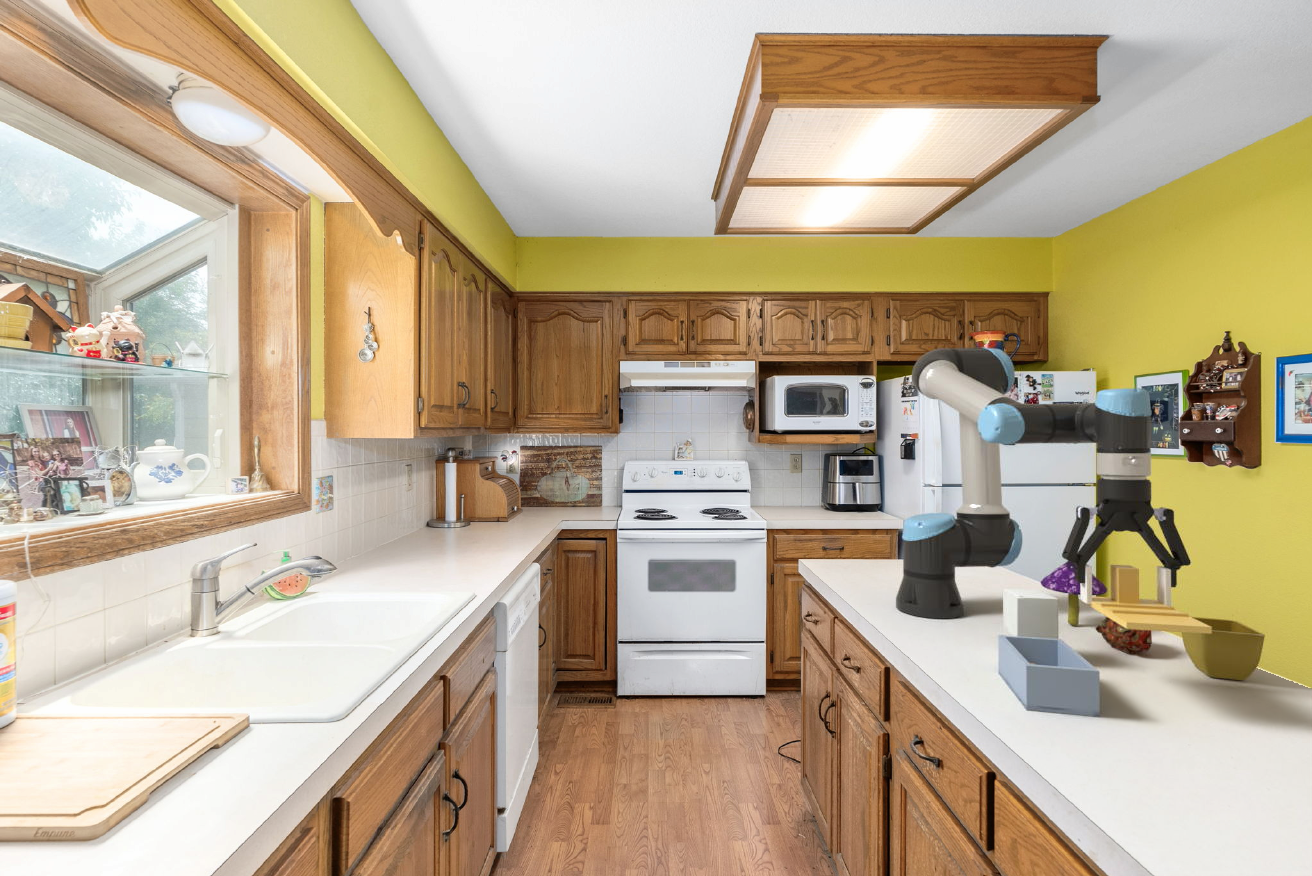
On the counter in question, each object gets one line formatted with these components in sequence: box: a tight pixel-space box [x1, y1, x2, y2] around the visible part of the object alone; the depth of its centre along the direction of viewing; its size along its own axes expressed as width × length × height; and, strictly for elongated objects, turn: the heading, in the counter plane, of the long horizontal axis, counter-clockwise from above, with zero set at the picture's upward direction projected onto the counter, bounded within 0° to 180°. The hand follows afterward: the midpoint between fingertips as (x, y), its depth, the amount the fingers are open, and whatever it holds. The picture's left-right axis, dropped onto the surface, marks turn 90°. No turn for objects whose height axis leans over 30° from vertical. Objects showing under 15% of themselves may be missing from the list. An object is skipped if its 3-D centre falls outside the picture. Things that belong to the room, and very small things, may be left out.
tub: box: [997, 634, 1101, 718], centre depth 102 cm, size 15×10×7 cm, turn 165°
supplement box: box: [1002, 588, 1060, 639], centre depth 118 cm, size 7×7×13 cm
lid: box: [1082, 564, 1212, 634], centre depth 101 cm, size 16×11×8 cm
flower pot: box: [1181, 616, 1266, 681], centre depth 109 cm, size 9×9×9 cm
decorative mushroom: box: [1040, 560, 1108, 627], centre depth 137 cm, size 12×12×15 cm
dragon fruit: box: [1095, 616, 1153, 654], centre depth 122 cm, size 8×8×12 cm
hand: (1124, 603), depth 106 cm, fingers closed on lid, 11 cm apart
